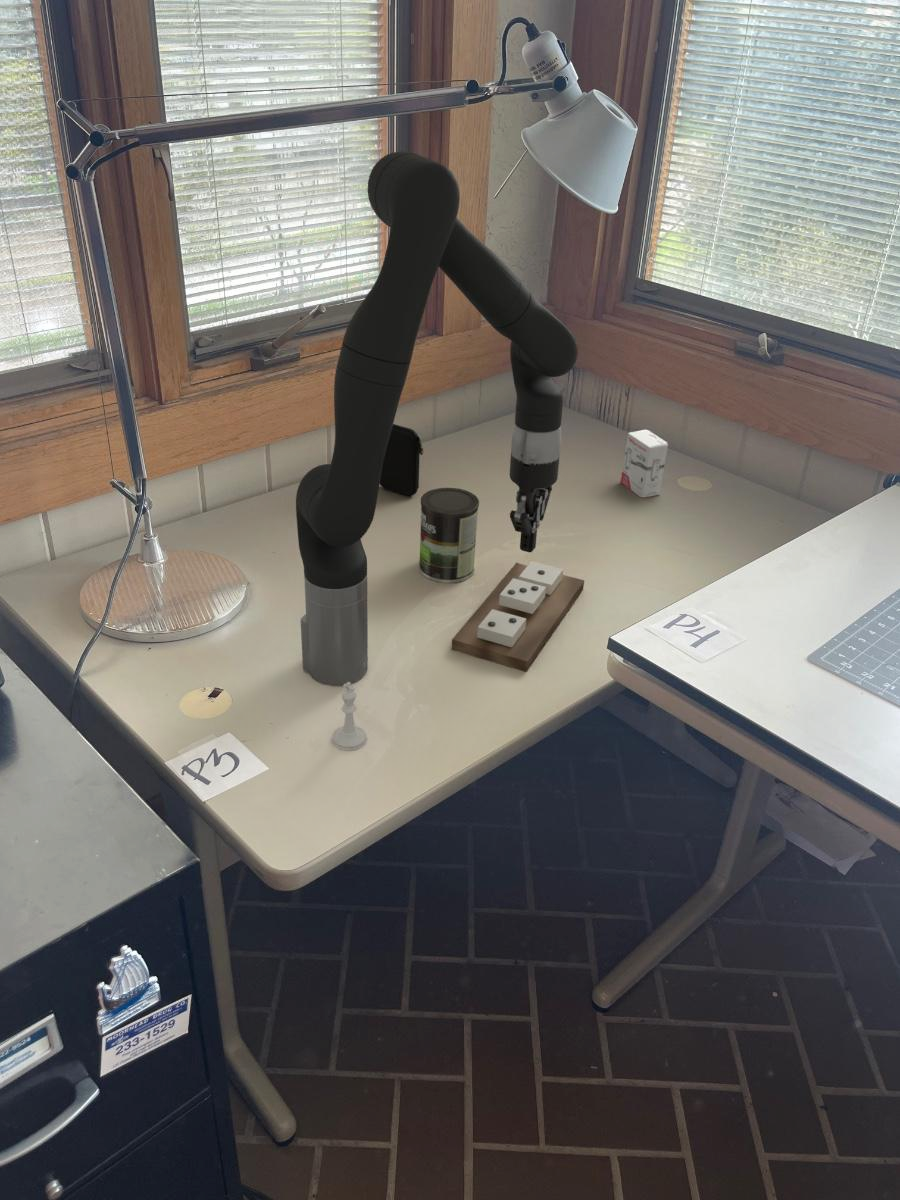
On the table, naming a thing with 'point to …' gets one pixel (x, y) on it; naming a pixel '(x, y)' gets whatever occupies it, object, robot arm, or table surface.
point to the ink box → (644, 463)
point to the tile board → (536, 624)
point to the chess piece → (349, 724)
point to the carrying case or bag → (402, 461)
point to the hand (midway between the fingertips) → (527, 549)
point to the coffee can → (448, 534)
